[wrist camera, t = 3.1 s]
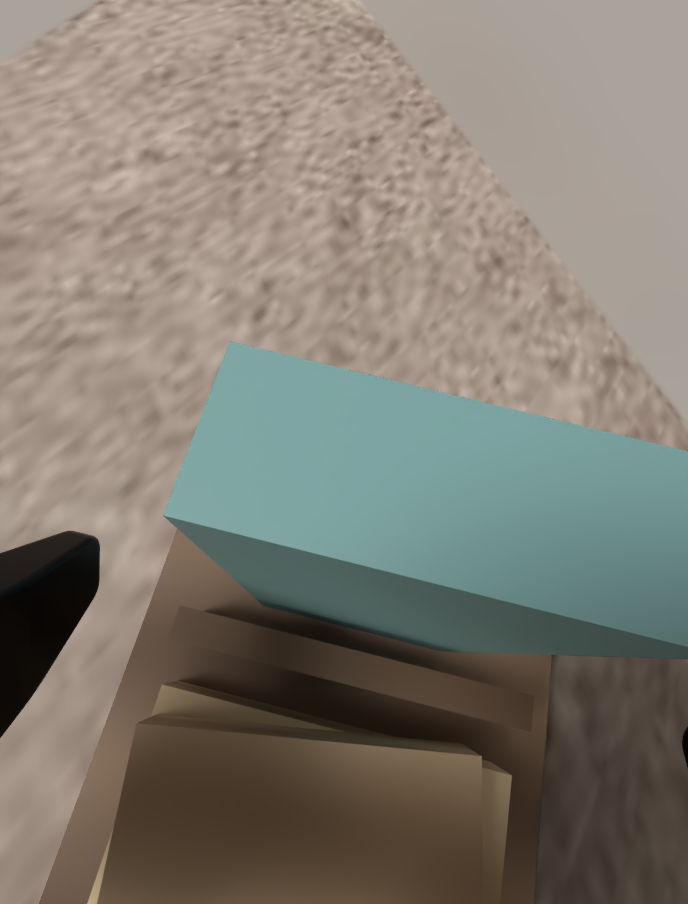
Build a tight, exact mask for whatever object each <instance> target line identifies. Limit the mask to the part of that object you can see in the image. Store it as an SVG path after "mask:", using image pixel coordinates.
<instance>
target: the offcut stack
mask: <svg viewBox="0 0 688 904" xmlns="http://www.w3.org/2000/svg"><path fill="white" fill-rule="evenodd" d="M511 781H512V775H511V774H509V773H507V772H506V771H504V770H503V769H501V768H499V767H498V766H496V765H495V764H493V763H492V762H490V761H486V760H482V756H481V755H479V754H478V753H476V752H474V751H473V750H471V749H470V748H468V747H466V746H465V745H463V744H462V743H453V742H443V741H433V740H422V739H412V738H401V737H393V736H390V735H386V734H382V733H378V732H374V731H370V730H366V729H363V728H359V727H355V726H351V725H347V724H343V723H339V722H336V721H332V720H328V719H324V718H320V717H316V716H312V715H309V714H305V713H301V712H297V711H293V710H289V709H285V708H282V707H278V706H274V705H270V704H266V703H262V702H258V701H255V700H251V699H247V698H243V697H239V696H235V695H231V694H228V693H224V692H220V691H216V690H212V689H208V688H204V687H201V686H197V685H193V684H189V683H185V682H181V681H174V682H170V683H166V684H162V685H161V688H160V691H159V694H158V697H157V700H156V703H155V706H154V709H153V712H152V715H151V717H149V718H147V719H145V720H143V721H140V722H138V723H136V727H135V732H134V737H133V741H132V746H131V750H130V755H129V759H128V764H127V769H126V773H125V778H124V782H123V787H122V791H121V796H120V800H119V805H118V810H117V814H116V819H115V823H114V826H113V829H112V832H111V835H110V838H109V841H108V844H107V847H106V850H105V853H104V856H103V859H102V862H101V865H100V868H99V870H98V873H97V876H96V879H95V882H94V885H93V888H92V891H91V894H90V897H89V900H88V903H87V904H500V899H501V889H502V878H503V867H504V856H505V845H506V835H507V824H508V813H509V802H510V791H511Z"/></svg>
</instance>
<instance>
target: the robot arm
mask: <svg viewBox="0 0 688 904" xmlns="http://www.w3.org/2000/svg"><path fill="white" fill-rule="evenodd" d="M99 570H100V545H99V541H98V539H97V538H96V537H94V536H91V535H88V534H84V533H80V532H76V531H66V532H62V533H59V534H56V535H53V536H50V537H47V538H44V539H41V540H38V541H35V542H32V543H29V544H26V545H23V546H21V547H18V548H15V549H12V550H9V551H6V552H3V553H0V738H1V737H2V735H3V734H4V733H5V731H6V730H7V729H8V727H9V726H10V725H11V723H12V722H13V721H14V720H15V718H16V717H17V716H18V714H19V713H20V712H21V710H22V709H23V708H24V706H25V705H26V704H27V702H28V701H29V700H30V698H31V697H32V695H33V694H34V693H35V691H36V690H37V688H38V687H39V685H40V683H41V682H42V680H43V679H44V677H45V676H46V674H47V673H48V671H49V669H50V668H51V666H52V665H53V663H54V661H55V660H56V658H57V657H58V655H59V653H60V652H61V650H62V648H63V647H64V645H65V644H66V642H67V640H68V639H69V637H70V636H71V634H72V632H73V631H74V629H75V628H76V626H77V624H78V623H79V621H80V620H81V618H82V616H83V615H84V613H85V611H86V610H87V608H88V607H89V605H90V603H91V602H92V600H93V598H94V597H95V595H96V592H97V589H98V586H99ZM682 748H683V753H684V756H685V760H686V763H687V767H688V727H687V728H686V730H685V731H684V734H683V739H682Z"/></svg>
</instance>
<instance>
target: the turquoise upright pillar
mask: <svg viewBox="0 0 688 904" xmlns="http://www.w3.org/2000/svg"><path fill="white" fill-rule="evenodd" d="M163 516H164V517H165V518H167V519H168V520H169V521H170V522H171V523H172V524H173V525H174V526H175V527H177V528H178V529H179V530H180V531H181V532H182V533H183V534H184V535H185V536H186V537H188V538H189V539H190V540H191V541H192V542H193V543H194V544H195V545H196V546H198V547H199V548H200V549H201V550H202V551H203V552H204V553H205V554H206V555H207V556H209V557H210V558H211V559H212V560H213V561H214V562H215V563H216V564H217V565H219V566H220V567H221V568H222V569H223V570H224V571H225V572H226V573H227V574H229V575H230V576H231V577H232V578H233V579H234V580H235V581H236V582H237V583H238V584H240V585H241V586H242V587H243V588H244V589H245V590H246V591H247V592H248V593H250V594H251V595H252V596H253V597H254V598H255V599H256V600H257V601H258V602H260V603H261V604H262V605H263V606H266V607H269V608H273V609H277V610H281V611H285V612H289V613H293V614H297V615H301V616H305V617H309V618H313V619H317V620H321V621H325V622H329V623H332V624H336V625H340V626H344V627H348V628H352V629H356V630H360V631H364V632H368V633H372V634H376V635H380V636H384V637H388V638H391V639H395V640H399V641H403V642H407V643H411V644H415V645H419V646H423V647H427V648H431V649H435V650H439V651H443V652H474V653H507V654H539V655H571V656H603V657H636V658H668V659H688V451H684V450H679V449H675V448H671V447H667V446H663V445H659V444H654V443H650V442H646V441H642V440H638V439H634V438H629V437H625V436H621V435H617V434H613V433H609V432H605V431H600V430H596V429H592V428H588V427H584V426H580V425H575V424H571V423H567V422H563V421H559V420H555V419H551V418H546V417H542V416H538V415H534V414H530V413H526V412H521V411H517V410H513V409H509V408H505V407H501V406H496V405H492V404H488V403H484V402H480V401H476V400H472V399H467V398H463V397H459V396H455V395H451V394H447V393H442V392H438V391H434V390H430V389H426V388H422V387H418V386H413V385H409V384H405V383H401V382H397V381H393V380H388V379H384V378H380V377H376V376H372V375H368V374H364V373H359V372H355V371H351V370H347V369H343V368H339V367H334V366H330V365H326V364H322V363H318V362H314V361H309V360H305V359H301V358H297V357H293V356H289V355H285V354H280V353H276V352H272V351H268V350H264V349H260V348H255V347H251V346H247V345H243V344H239V343H235V342H231V341H230V343H229V346H228V348H227V351H226V353H225V356H224V359H223V361H222V364H221V366H220V369H219V372H218V374H217V377H216V379H215V382H214V385H213V387H212V390H211V392H210V395H209V398H208V400H207V403H206V405H205V408H204V411H203V413H202V416H201V418H200V421H199V424H198V426H197V429H196V431H195V434H194V437H193V439H192V442H191V444H190V447H189V450H188V452H187V455H186V457H185V460H184V463H183V465H182V468H181V470H180V473H179V476H178V478H177V481H176V483H175V486H174V489H173V491H172V494H171V496H170V499H169V502H168V504H167V507H166V509H165V512H164V515H163Z"/></svg>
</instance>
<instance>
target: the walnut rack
mask: <svg viewBox="0 0 688 904" xmlns="http://www.w3.org/2000/svg"><path fill="white" fill-rule="evenodd" d="M551 662H552V655H539V654H507V653H474V652H443V651H439V650H435V649H431V648H427V647H423V646H419V645H415V644H411V643H407V642H403V641H399V640H395V639H391V638H388V637H384V636H380V635H376V634H372V633H368V632H364V631H360V630H356V629H352V628H348V627H344V626H340V625H336V624H332V623H329V622H325V621H321V620H317V619H313V618H309V617H305V616H301V615H297V614H293V613H289V612H285V611H281V610H277V609H273V608H269V607H266V606H263V605H262V604H261V603H260V602H258V601H257V600H256V599H255V598H254V597H253V596H252V595H251V594H250V593H248V592H247V591H246V590H245V589H244V588H243V587H242V586H241V585H240V584H238V583H237V582H236V581H235V580H234V579H233V578H232V577H231V576H230V575H229V574H227V573H226V572H225V571H224V570H223V569H222V568H221V567H220V566H219V565H217V564H216V563H215V562H214V561H213V560H212V559H211V558H210V557H209V556H207V555H206V554H205V553H204V552H203V551H202V550H201V549H200V548H199V547H198V546H196V545H195V544H194V543H193V542H192V541H191V540H190V539H189V538H188V537H186V536H185V535H184V534H183V533H182V532H181V531H180V530H179V529H177V532H176V534H175V537H174V540H173V543H172V545H171V548H170V551H169V553H168V556H167V559H166V561H165V564H164V567H163V570H162V572H161V575H160V578H159V580H158V583H157V586H156V589H155V591H154V594H153V597H152V599H151V602H150V605H149V607H148V610H147V613H146V616H145V618H144V621H143V624H142V626H141V629H140V632H139V635H138V637H137V640H136V643H135V645H134V648H133V651H132V653H131V656H130V659H129V662H128V664H127V667H126V670H125V672H124V675H123V678H122V681H121V683H120V686H119V689H118V691H117V694H116V697H115V699H114V702H113V705H112V708H111V710H110V713H109V716H108V718H107V721H106V724H105V727H104V729H103V732H102V735H101V737H100V740H99V743H98V745H97V748H96V751H95V754H94V756H93V759H92V762H91V764H90V767H89V770H88V773H87V775H86V778H85V781H84V783H83V786H82V789H81V791H80V794H79V797H78V800H77V802H76V805H75V808H74V810H73V813H72V816H71V819H70V821H69V824H68V827H67V829H66V832H65V835H64V838H63V840H62V843H61V846H60V848H59V851H58V854H57V856H56V859H55V862H54V865H53V867H52V870H51V873H50V875H49V878H48V881H47V884H46V886H45V889H44V892H43V894H42V897H41V900H40V902H39V904H87V903H88V900H89V897H90V894H91V891H92V888H93V885H94V882H95V879H96V876H97V873H98V870H99V868H100V865H101V862H102V859H103V856H104V853H105V850H106V847H107V844H108V841H109V838H110V835H111V832H112V829H113V826H114V823H115V819H116V814H117V810H118V805H119V800H120V796H121V791H122V787H123V782H124V778H125V773H126V769H127V764H128V759H129V755H130V750H131V746H132V741H133V737H134V732H135V727H136V723H138V722H140V721H143V720H145V719H147V718H149V717H151V715H152V712H153V709H154V706H155V703H156V700H157V697H158V694H159V691H160V688H161V685H162V684H166V683H170V682H174V681H181V682H185V683H189V684H193V685H197V686H201V687H204V688H208V689H212V690H216V691H220V692H224V693H228V694H231V695H235V696H239V697H243V698H247V699H251V700H255V701H258V702H262V703H266V704H270V705H274V706H278V707H282V708H285V709H289V710H293V711H297V712H301V713H305V714H309V715H312V716H316V717H320V718H324V719H328V720H332V721H336V722H339V723H343V724H347V725H351V726H355V727H359V728H363V729H366V730H370V731H374V732H378V733H382V734H386V735H390V736H393V737H401V738H412V739H422V740H433V741H443V742H453V743H462V744H463V745H465V746H466V747H468V748H470V749H471V750H473V751H474V752H476V753H478V754H479V755H481V756H482V760H486V761H490V762H492V763H493V764H495V765H496V766H498V767H499V768H501V769H503V770H504V771H506V772H507V773H509V774H511V775H512V781H511V791H510V802H509V813H508V824H507V835H506V845H505V856H504V867H503V878H502V889H501V899H500V904H534V897H535V884H536V870H537V856H538V842H539V828H540V814H541V801H542V787H543V773H544V759H545V745H546V731H547V718H548V704H549V690H550V676H551Z"/></svg>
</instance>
